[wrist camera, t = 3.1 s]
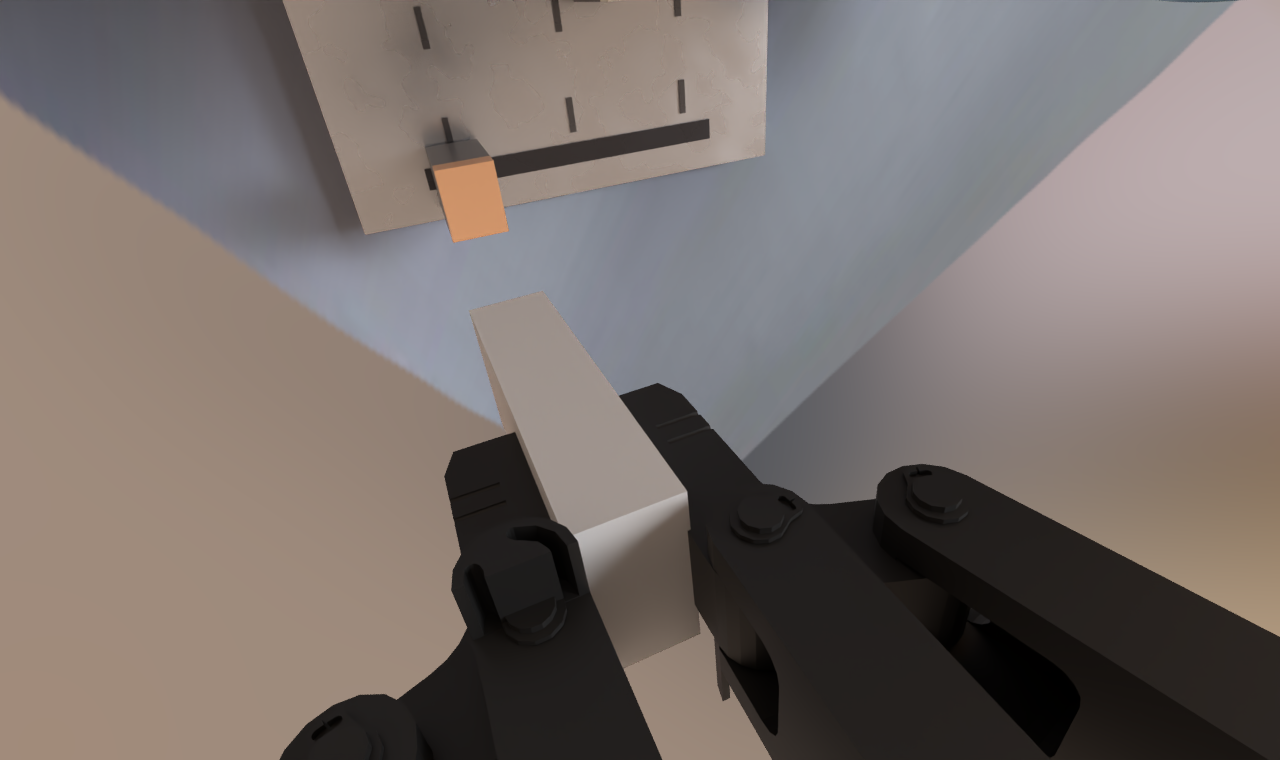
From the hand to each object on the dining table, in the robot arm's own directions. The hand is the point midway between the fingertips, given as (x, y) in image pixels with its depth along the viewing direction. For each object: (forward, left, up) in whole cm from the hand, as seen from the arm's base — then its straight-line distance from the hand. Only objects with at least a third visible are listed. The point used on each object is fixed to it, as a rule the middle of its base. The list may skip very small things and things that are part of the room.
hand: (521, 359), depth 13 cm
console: (-3, +7, -23) cm, 24 cm away
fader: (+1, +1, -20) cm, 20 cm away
